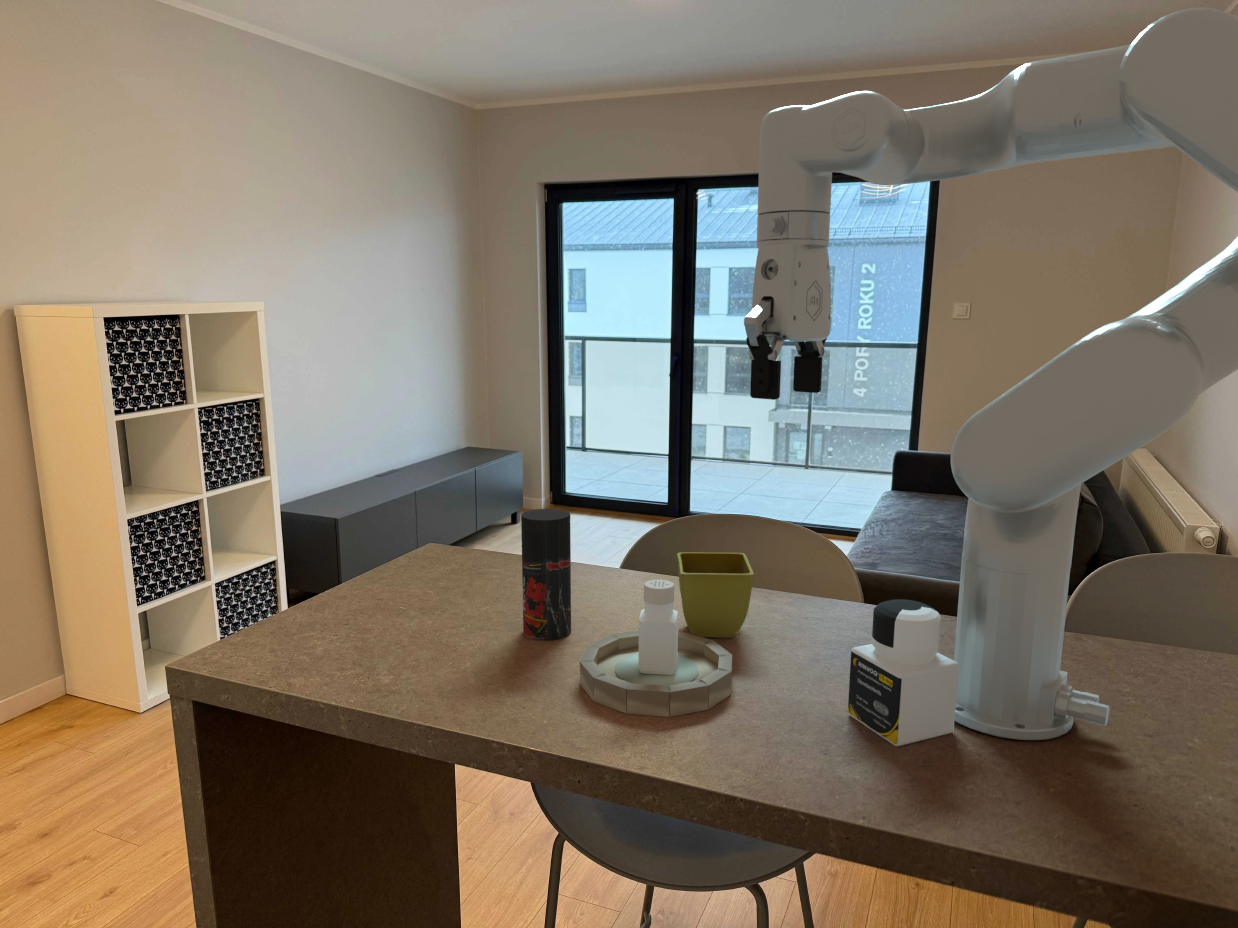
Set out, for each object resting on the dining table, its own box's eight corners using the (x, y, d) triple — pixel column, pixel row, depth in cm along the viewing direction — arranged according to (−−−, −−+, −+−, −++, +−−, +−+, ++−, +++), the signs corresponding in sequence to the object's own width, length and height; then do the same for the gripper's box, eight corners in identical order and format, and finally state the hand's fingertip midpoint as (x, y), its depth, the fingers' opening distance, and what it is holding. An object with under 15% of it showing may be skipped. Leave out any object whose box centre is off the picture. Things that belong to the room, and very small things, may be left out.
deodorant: (580, 633, 104) (579, 515, 101) (537, 644, 101) (536, 522, 98) (556, 619, 109) (554, 506, 106) (514, 628, 105) (512, 512, 103)
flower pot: (752, 645, 100) (754, 573, 99) (679, 644, 101) (680, 572, 99) (743, 619, 109) (745, 552, 107) (675, 618, 109) (676, 551, 108)
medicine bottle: (846, 714, 83) (852, 599, 81) (902, 701, 86) (910, 589, 84) (895, 748, 77) (904, 623, 75) (955, 733, 80) (965, 612, 77)
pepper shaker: (677, 661, 92) (679, 578, 90) (675, 677, 88) (677, 590, 86) (641, 660, 93) (642, 577, 91) (637, 675, 89) (638, 589, 87)
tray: (758, 675, 92) (759, 653, 91) (675, 731, 80) (675, 706, 79) (641, 640, 102) (642, 620, 101) (551, 685, 89) (551, 662, 89)
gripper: (786, 224, 80) (779, 404, 83) (859, 237, 93) (851, 391, 96) (718, 229, 84) (715, 399, 87) (797, 241, 98) (792, 387, 101)
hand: (786, 395), depth 92 cm, fingers open, 9 cm apart
